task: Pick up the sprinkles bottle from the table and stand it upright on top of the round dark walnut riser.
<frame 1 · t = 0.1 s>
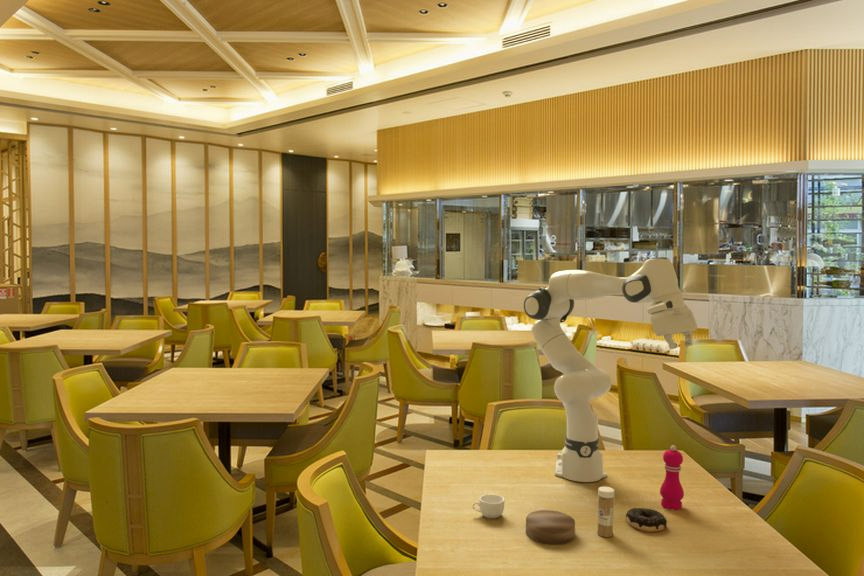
hand: (681, 347, 200), 52 cm above the table, tool tilted 20°, fingers open, 8 cm apart
pepper mill: (671, 506, 204), on the table
donut: (645, 525, 191), on the table
teacup: (488, 516, 196), on the table
walnut riser: (550, 533, 184), on the table
sprinkles bottle: (605, 534, 184), on the table
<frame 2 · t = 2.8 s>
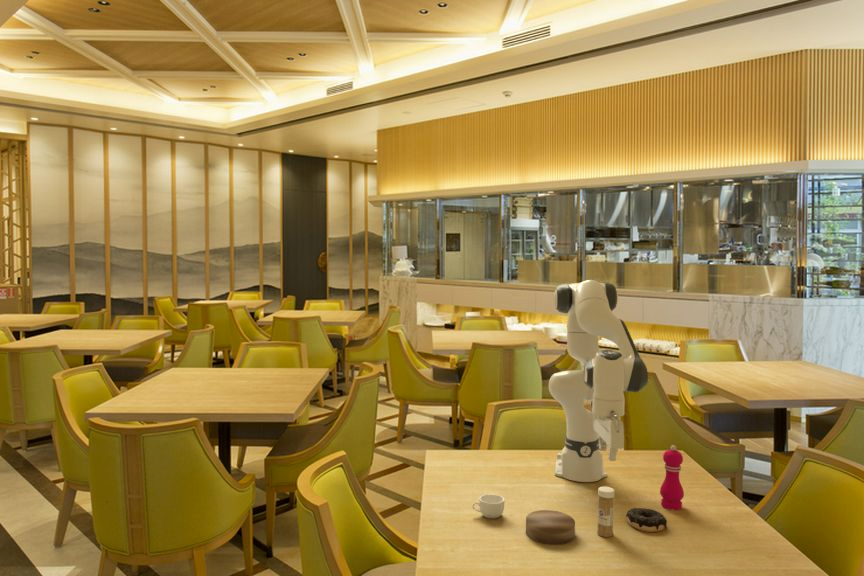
hand: (607, 455, 182), 23 cm above the table, tool pointing down, fingers open, 8 cm apart
nothing on the table moved.
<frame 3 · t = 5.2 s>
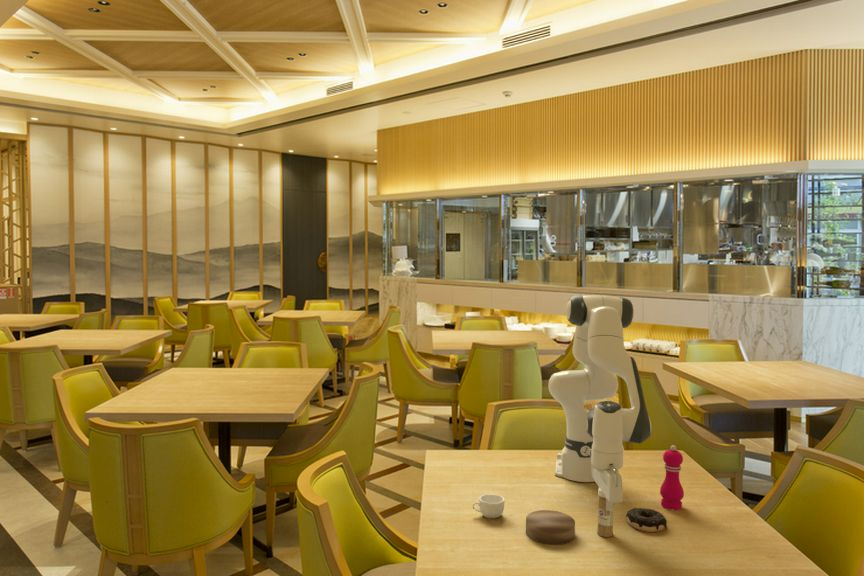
hand: (605, 505, 183), 8 cm above the table, tool pointing down, fingers closed on sprinkles bottle, 4 cm apart
sprinkles bottle: (605, 534, 184), on the table, touching gripper
everything else where it was.
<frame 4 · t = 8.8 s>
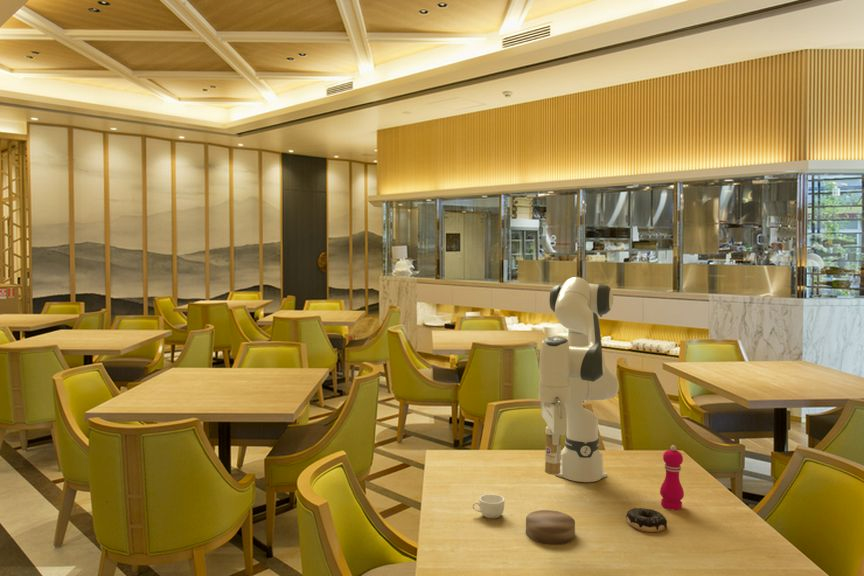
hand: (553, 441, 182), 27 cm above the table, tool pointing down, fingers closed on sprinkles bottle, 4 cm apart
sprinkles bottle: (552, 473, 183), point 18 cm above the table, touching gripper
everything else where it was.
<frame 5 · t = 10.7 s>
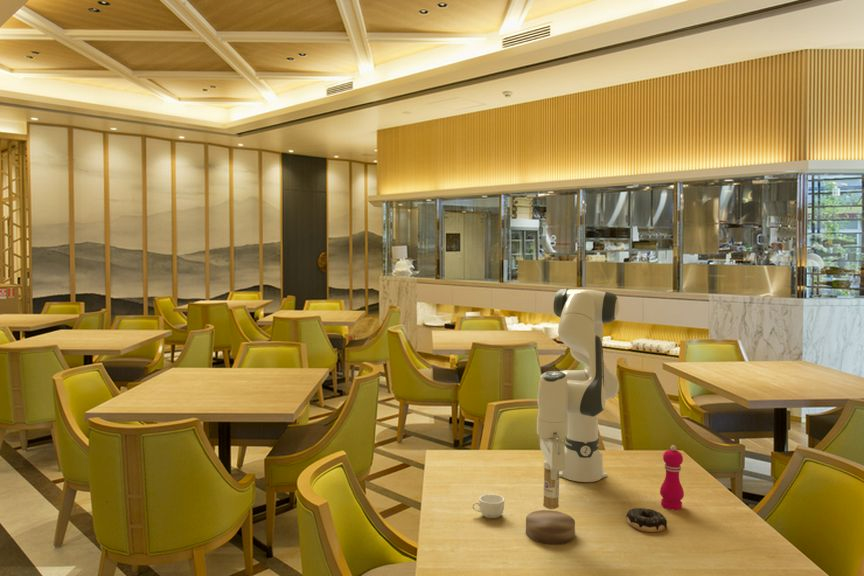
hand: (551, 475, 183), 17 cm above the table, tool pointing down, fingers closed on sprinkles bottle, 4 cm apart
sprinkles bottle: (551, 507, 183), point 8 cm above the table, touching gripper
everything else where it was.
when the fingers open (13 cm above the table, at t = 12.3 s): sprinkles bottle stays where it is, resting on walnut riser.
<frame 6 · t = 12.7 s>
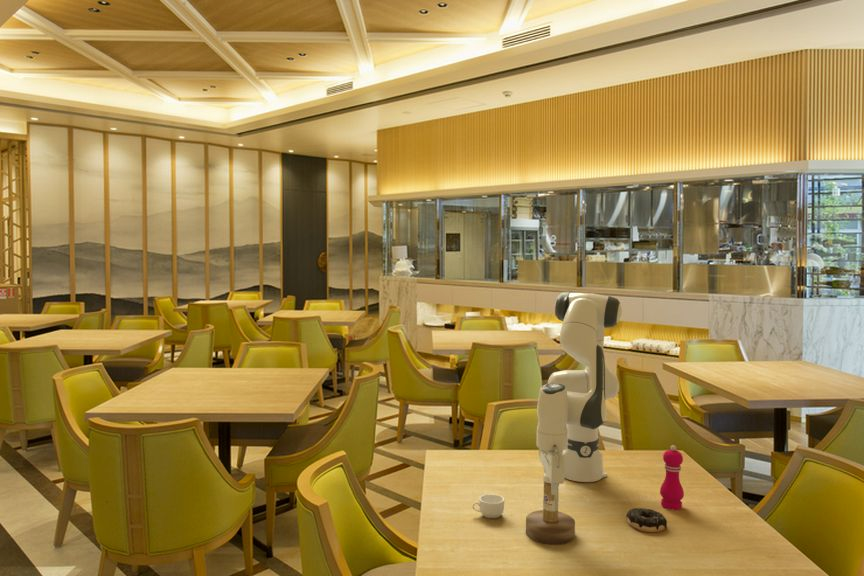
hand: (551, 487, 183), 14 cm above the table, tool pointing down, fingers open, 8 cm apart
sprinkles bottle: (550, 520, 184), point 4 cm above the table, touching walnut riser
everything else where it was.
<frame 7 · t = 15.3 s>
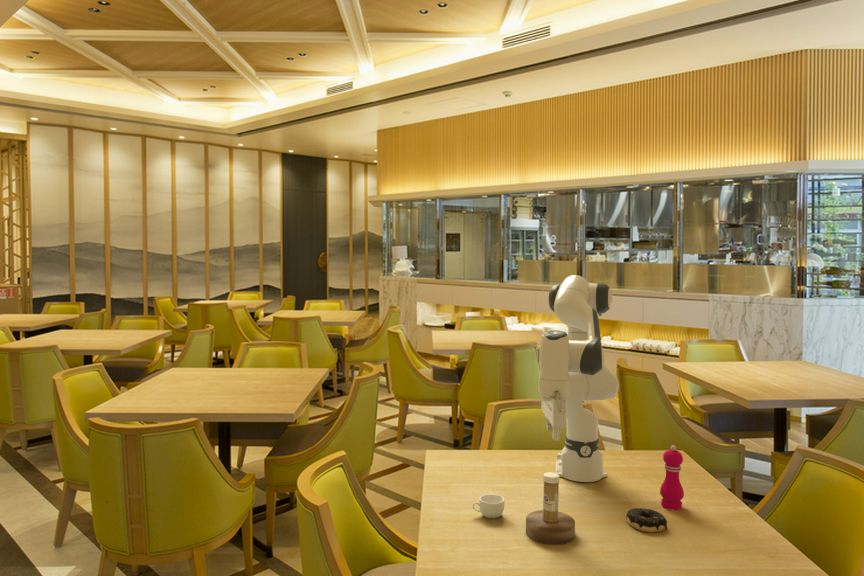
hand: (552, 435, 182), 29 cm above the table, tool pointing down, fingers open, 8 cm apart
nothing on the table moved.
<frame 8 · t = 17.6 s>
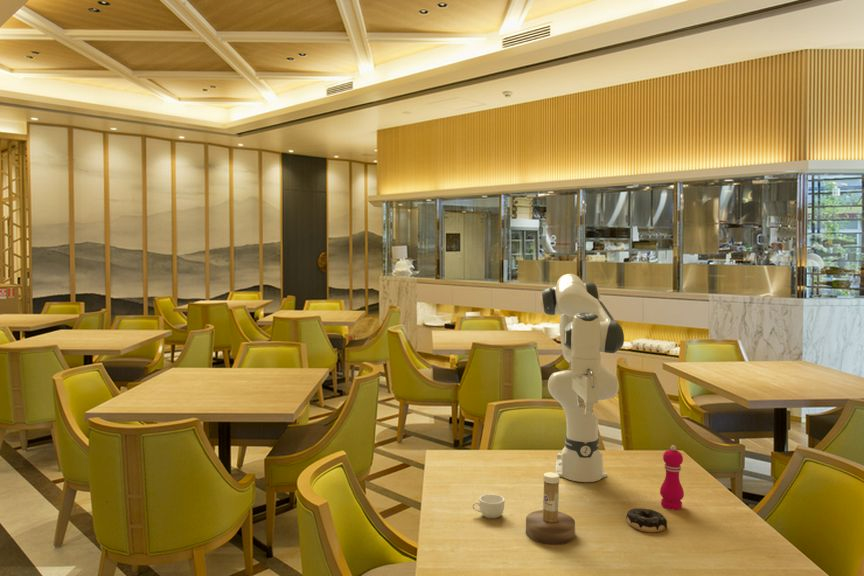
hand: (584, 411, 194), 33 cm above the table, tool pointing down, fingers open, 8 cm apart
nothing on the table moved.
at the end: sprinkles bottle inside the target area on the walnut riser (0.1 cm from its centre), point 3.8 cm above the walnut riser's base; sprinkles bottle tilted 0°; sprinkles bottle touching walnut riser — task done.
